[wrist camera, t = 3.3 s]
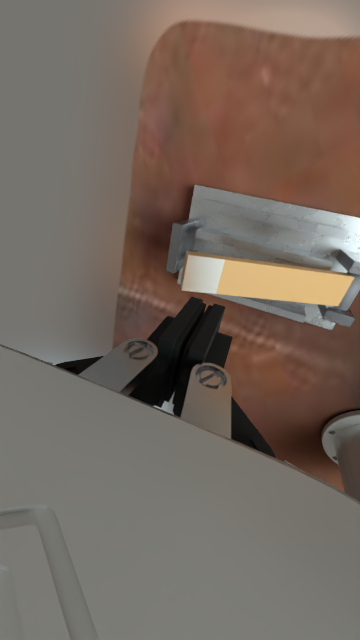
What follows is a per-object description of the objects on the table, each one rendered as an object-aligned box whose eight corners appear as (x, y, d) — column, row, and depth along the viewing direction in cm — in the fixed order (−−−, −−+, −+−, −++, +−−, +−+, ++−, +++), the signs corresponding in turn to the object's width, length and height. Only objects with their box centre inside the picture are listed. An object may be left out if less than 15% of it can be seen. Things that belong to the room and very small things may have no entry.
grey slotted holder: (385, 223, 24) (426, 232, 18) (328, 322, 30) (343, 358, 24) (199, 185, 29) (175, 181, 22) (182, 279, 35) (159, 298, 28)
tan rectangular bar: (358, 271, 23) (371, 277, 21) (340, 303, 25) (351, 310, 23) (186, 247, 19) (189, 253, 18) (179, 286, 21) (181, 294, 20)
